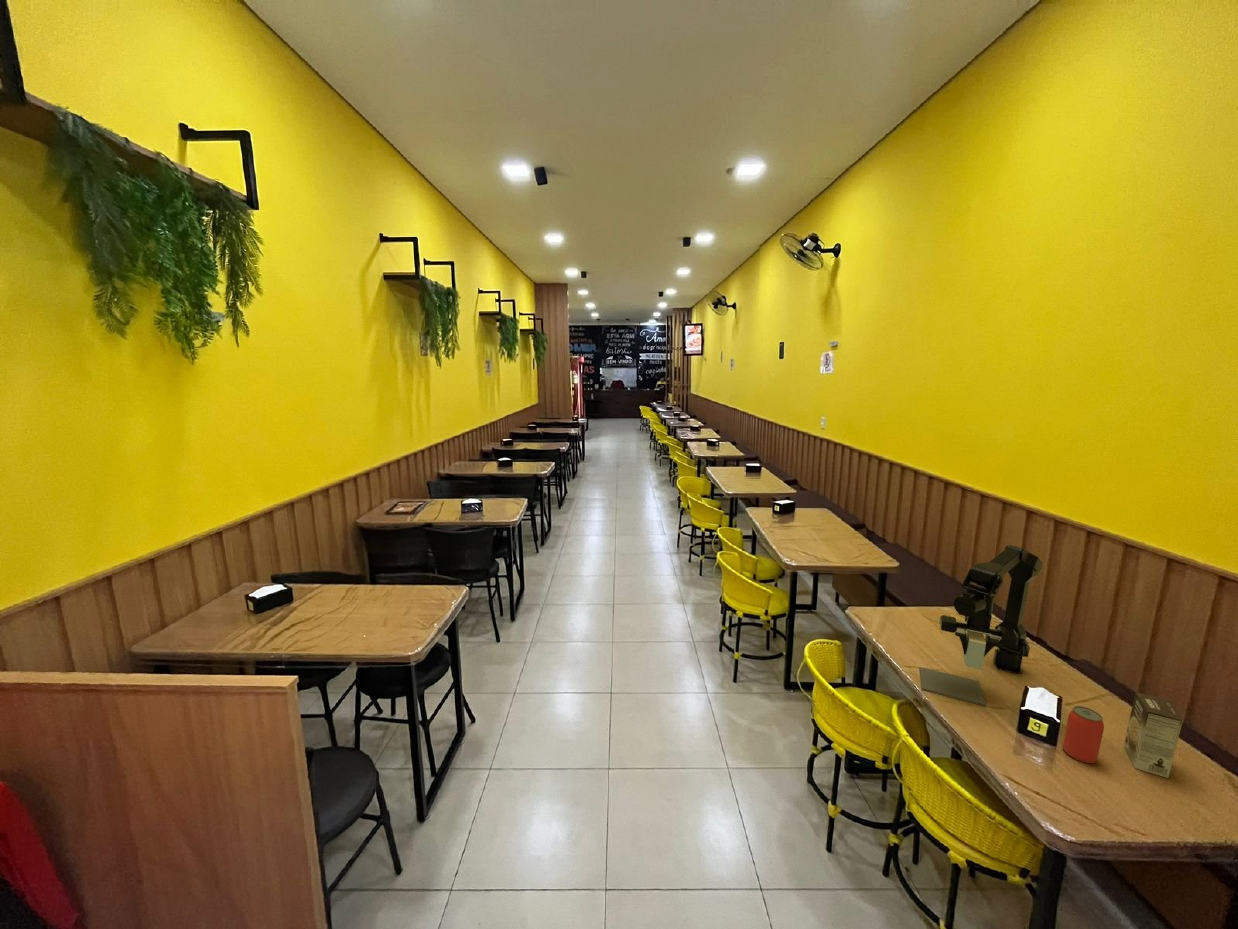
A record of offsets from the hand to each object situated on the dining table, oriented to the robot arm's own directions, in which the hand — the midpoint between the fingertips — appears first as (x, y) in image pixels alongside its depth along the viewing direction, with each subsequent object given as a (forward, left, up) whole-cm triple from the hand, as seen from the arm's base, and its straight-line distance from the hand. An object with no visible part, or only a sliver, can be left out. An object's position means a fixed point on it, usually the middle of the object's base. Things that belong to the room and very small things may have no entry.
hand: (973, 655), depth 150 cm
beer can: (-21, +18, -12) cm, 31 cm away
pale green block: (0, 0, -2) cm, 2 cm away
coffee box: (-35, +13, -12) cm, 40 cm away
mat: (+5, 0, -12) cm, 13 cm away
